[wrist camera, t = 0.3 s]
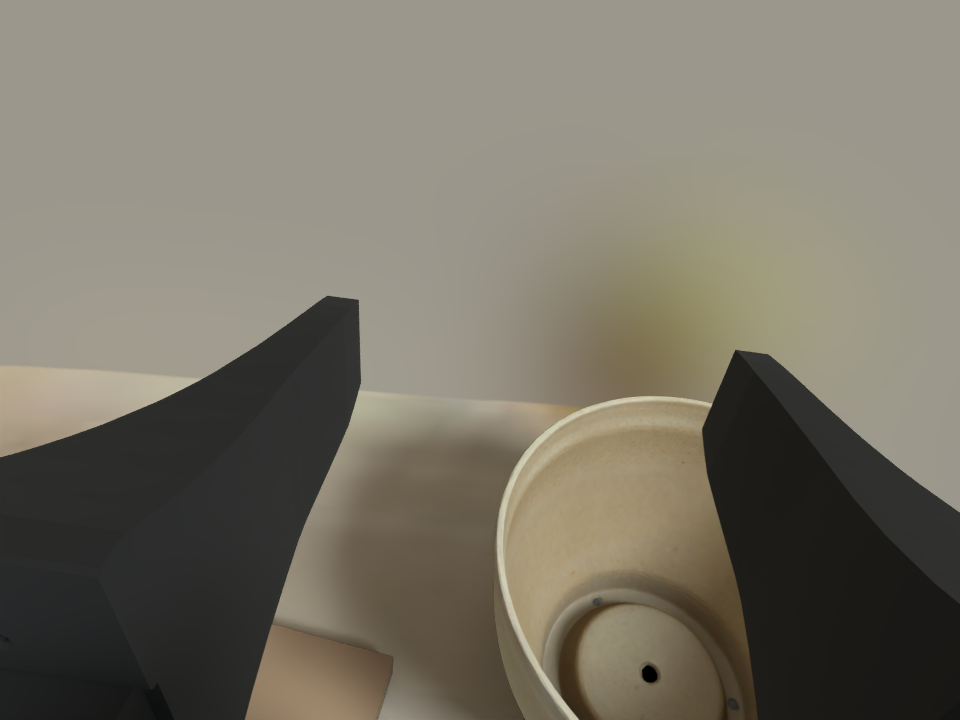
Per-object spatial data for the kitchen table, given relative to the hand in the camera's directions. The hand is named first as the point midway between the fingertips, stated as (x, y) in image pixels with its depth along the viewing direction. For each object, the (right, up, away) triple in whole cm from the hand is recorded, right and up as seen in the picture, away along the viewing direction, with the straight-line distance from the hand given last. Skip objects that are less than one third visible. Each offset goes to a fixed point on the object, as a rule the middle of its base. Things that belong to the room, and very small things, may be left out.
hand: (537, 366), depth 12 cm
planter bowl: (+6, -15, +16) cm, 23 cm away
